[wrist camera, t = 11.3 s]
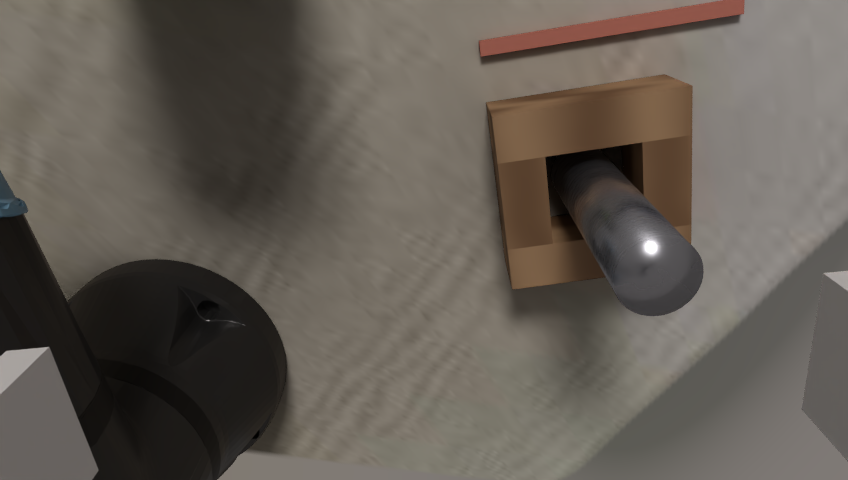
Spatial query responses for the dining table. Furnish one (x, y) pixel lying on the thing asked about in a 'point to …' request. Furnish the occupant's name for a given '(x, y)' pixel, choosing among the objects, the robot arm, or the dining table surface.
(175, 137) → the dining table surface
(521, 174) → the wooden square frame
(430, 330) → the dining table surface
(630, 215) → the steel round rod
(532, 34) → the thin red bar
